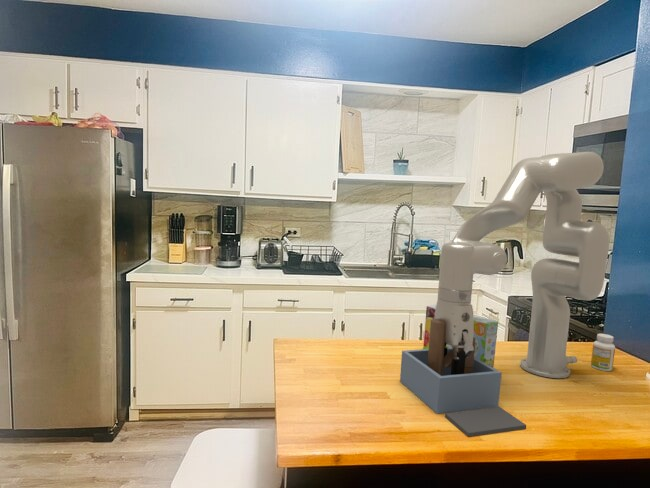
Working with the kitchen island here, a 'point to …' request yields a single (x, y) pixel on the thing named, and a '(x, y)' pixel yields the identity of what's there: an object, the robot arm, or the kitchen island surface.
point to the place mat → (484, 421)
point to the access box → (450, 384)
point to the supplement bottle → (603, 353)
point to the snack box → (482, 333)
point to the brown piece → (437, 349)
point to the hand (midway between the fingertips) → (448, 368)
